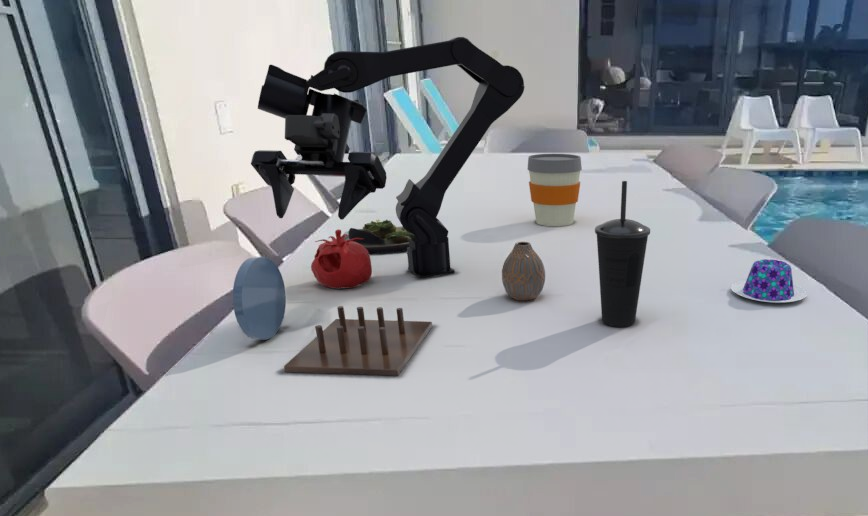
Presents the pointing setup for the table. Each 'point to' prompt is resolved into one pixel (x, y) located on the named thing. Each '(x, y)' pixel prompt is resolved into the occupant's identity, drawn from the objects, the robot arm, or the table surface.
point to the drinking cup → (620, 266)
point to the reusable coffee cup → (554, 187)
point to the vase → (523, 273)
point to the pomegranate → (341, 263)
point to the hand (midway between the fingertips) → (309, 217)
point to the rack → (361, 345)
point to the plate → (259, 298)
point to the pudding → (769, 283)
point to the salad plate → (381, 237)
